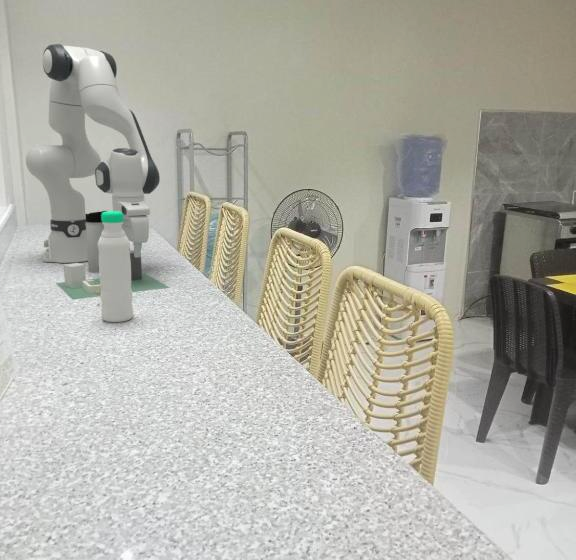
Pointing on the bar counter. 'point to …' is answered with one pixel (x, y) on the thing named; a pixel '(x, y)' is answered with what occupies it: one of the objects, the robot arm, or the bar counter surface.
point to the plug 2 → (135, 267)
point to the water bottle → (115, 269)
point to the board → (94, 288)
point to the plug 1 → (74, 275)
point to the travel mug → (93, 239)
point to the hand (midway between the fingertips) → (131, 254)
